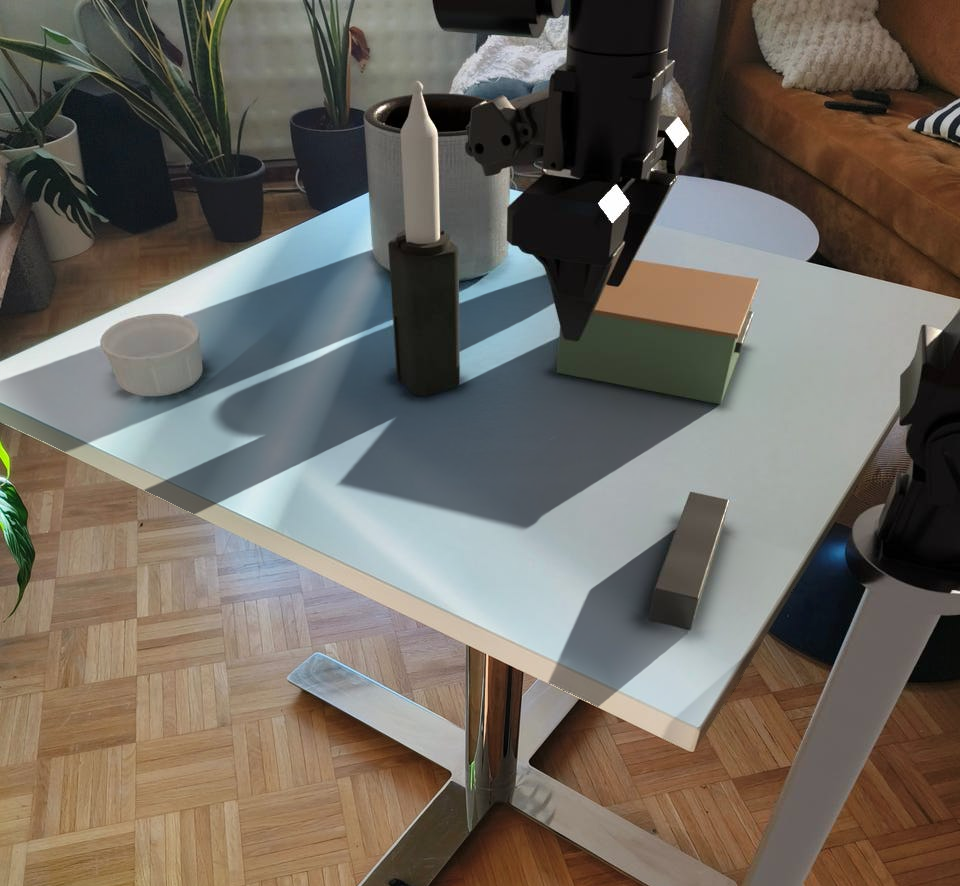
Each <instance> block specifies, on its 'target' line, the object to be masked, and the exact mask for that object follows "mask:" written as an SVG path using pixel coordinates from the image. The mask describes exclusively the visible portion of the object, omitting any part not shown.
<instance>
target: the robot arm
mask: <svg viewBox="0 0 960 886" xmlns="http://www.w3.org/2000/svg"><path fill="white" fill-rule="evenodd" d="M431 1H432V7H433V12H434V16H435V19H436V22H437V23H438V25H439V28H441V30H442V31H443V32H448V33H449V32H450V33H460V34H464V33H465V34H475V35H488V36H502V37H514V38H528V39H539V38H540V37H541V36H542V34H543V32H544V31H545V28H546V25H547V23H548V19H559V18H560V17H561V15H562V13H563V10H564V8H565V3H566V0H431ZM674 5H675V0H569V5H568V6H569V7H568V25H567V41H566V42H567V43H566V56H565V57H566V59H565V62H564V63H562V64H561V65H560V66H558V67H557V68H555V69H554V72H552V73H551V74H550V77H549V83H548V87H545V88H543V89H540V90H537V91H534V92H531V93H528V94H524V95H522V96H519V97H516V98H513V99H508V98H507V97H506V96H505V95H504V94H501V95H498V96H497V97H496V98H494V99H491V100H492V101H489V102H486V101H483V102H481V103H479V104H478V105H476V106H475V107H473V108H472V109H471V119H470V122H469V125H467V126H466V131H467V134H468V141H467V143H466V145H465V150H466V153H467V154H468V155H469V156H471V157H474V159H475V160H476V162H478V163H479V164H481V165H482V169H483V172H484V175H485V176H492V175H496V174H499V173H500V172H501V170H502V169H504V168H507V167H510V168H511V167H514V166H518V165H521V164H525V163H528V162H532V161H536V160H538V159H541V158H542V166H543V169H546V170H554V171H562V170H563V169H566V170H570V175H571V176H573V177H575V178H569V177H562V176H555V175H548V174H543V175H542V176H539V177H538V179H536V180H535V181H533V183H532V184H530V186H528V187H527V188H525V190H524V191H523V192H522V193H521V194H519V195H518V196H517V198H515V200H513V201H512V202H511V203H510V205H509V206H508V207H507V241H508V242H509V245H511V246H512V247H517V248H518V249H519V250H520V252H522V253H523V254H526V255H529V256H530V255H532V256H533V257H534V258H535V259H536V260H537V261H538V262H539V263H540V264H541V265H542V266H543V268H544V270H545V274H546V277H547V279H548V283H549V286H550V290H551V295H552V298H553V303H554V306H555V310H556V315H557V319H558V324H559V329H560V328H561V332H562V336H563V338H564V339H565V340H570V341H575V342H577V341H579V340H580V339H581V337H582V335H583V333H584V330H585V328H586V326H587V324H588V322H589V320H590V318H591V316H592V314H593V311H594V309H595V307H596V305H597V303H598V301H599V298H600V296H601V294H602V292H603V290H604V288H605V285H609V286H615V287H618V286H620V285H621V283H622V281H623V279H624V278H625V276H626V274H627V272H628V270H629V268H630V266H631V264H632V262H633V260H635V258H636V256H637V255H638V252H639V251H640V249H641V247H642V245H643V243H644V241H645V239H646V238H647V235H648V234H649V232H650V231H651V228H652V226H653V224H654V222H655V220H656V219H657V217H658V215H659V213H660V211H661V209H662V207H663V205H664V203H666V199H668V196H669V194H670V193H671V191H672V189H673V187H674V185H675V184H676V182H677V180H678V177H679V174H678V172H679V171H680V170H681V168H682V167H683V166H684V165H685V164H686V159H687V152H688V144H689V140H690V139H689V138H690V133H689V131H688V129H687V128H686V126H685V125H684V124H683V122H682V121H681V118H680V117H679V116H672V115H664V114H661V110H662V109H661V108H662V100H663V93H664V88H666V87H667V85H669V84H670V82H672V81H673V78H674V77H673V76H674V69H675V61H676V60H675V59H668V53H669V44H670V37H671V29H672V20H673V13H674ZM660 161H665V166H666V167H665V168H666V170H664V169H659V162H660ZM898 413H899V414H898V416H899V417H898V418H899V419H898V423H899V424H898V425H899V426H900V427H905V449H906V450H905V451H906V454H908V456H909V457H910V459H911V461H910V463H909V466H908V468H907V471H906V473H903V472H900V473H898V474H896V475H895V478H894V480H893V483H892V485H891V488H890V490H889V493H888V495H887V498H886V500H885V503H884V504H885V505H884V507H883V510H882V512H881V515H880V518H879V526H878V535H877V536H878V538H879V539H881V540H882V544H881V554H880V558H881V560H882V561H884V562H886V563H890V564H895V565H899V566H903V567H908V568H912V569H917V570H921V571H926V572H930V573H934V574H939V575H943V576H948V577H952V578H956V579H960V310H959V311H958V312H957V313H956V314H955V316H954V317H953V318H952V319H951V320H950V321H949V323H948V324H947V325H946V326H945V327H944V328H943V329H939V328H936V327H933V326H932V325H928V324H922V325H921V326H920V330H919V334H918V340H917V345H916V349H915V352H914V356H913V358H912V360H911V361H910V364H909V365H908V366H907V368H906V369H904V371H903V372H902V373H901V374H900V375H899V409H898Z"/></svg>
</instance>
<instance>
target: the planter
mask: <svg viewBox="0 0 960 886" xmlns="http://www.w3.org/2000/svg"><path fill="white" fill-rule="evenodd" d="M422 95H423V99H424V102H425V106H426V109H427V112H428V116H429V118H430V119H431V121H432V122H433V124H434V126H435V127H436V129H437V133H438V174H439V216H440V230H443V231H444V234H449V237H450V241H451V242H452V243H454V244H455V245H456V246H457V247H458V249H459V282H465V281H469V280H473V279H476V278H479V277H483V276H485V275H487V274H490V273H491V272H492V271H494V270H495V269H497V268H498V267H499V266H501V264H502V263H503V262H504V261H505V260H506V258H507V257H508V253H509V247H510V243H509V242H508V241H507V207H508V206H509V205H510V204H511V203H510V201H511V199H510V198H511V197H510V196H511V167H507V168H504V169H502V170H501V172H500V173H499V174H496V175H492V176H485V175H484V172H483V169H482V165H481V164H479V163H478V162H476V160H475V159H474V157H471V156H469V155H468V154H467V153H466V150H465V145H466V143H467V141H468V134H467V131H466V126H467V125H469V122H470V119H471V109H472V108H473V107H475V106H476V105H478V104H479V103H481V102H483V101H486V102H489V101H492V100H493V99H489V98H485V97H480V96H475V95H471V94H470V95H469V94H462V93H450V92H448V93H447V92H428V93H427V92H426V93H422ZM412 97H413V94H405V95H400V96H395V97H391V98H387V99H383V100H381V101H379V102H376V103H374V104H372V105H371V106H369V107H368V108H367V109H366V110H365V111H364V112H363V113H364V114H363V124H364V125H363V127H364V141H365V154H366V155H365V156H366V169H367V170H366V171H367V185H368V186H367V188H368V201H369V202H368V203H369V219H370V220H369V221H370V223H369V224H370V237H371V238H370V239H371V248H372V253H373V256H374V259H375V260H376V261H377V263H378V264H379V265H380V266H381V267H383V268H384V269H386V270H387V271H389V272H390V264H389V248H388V243H389V242H390V241H391V240H393V239H396V236H397V234H398V233H400V232H401V231H404V230H405V212H404V192H403V172H402V152H401V129H402V127H403V125H404V123H405V121H406V120H407V118H408V115H409V110H410V106H411V101H412Z"/></svg>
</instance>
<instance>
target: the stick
mask: <svg viewBox="0 0 960 886" xmlns="http://www.w3.org/2000/svg"><path fill="white" fill-rule="evenodd" d="M729 504H730V500H729V499H727V498H722V497H717V496H712V495H708V494H705V493H704V494H703V493H699V492H694V491H690V492H689V494H688V496H687V499H686V503H685V505H684V508H683V510H682V512H681V515H680V518H679V520H678V523H677V526H676V529H675V531H674V534H673V537H672V540H671V543H670V545H669V548H668V550H667V553H666V556H665V558H664V561H663V564H662V567H661V569H660V572H659V575H658V577H657V581H656V584H655V585H654V588H653V594H652V598H651V604H650V609H649V614H648V621H652V622H656V623H659V624H664V625H666V626H667V625H668V626H672V627H675V628H677V629H678V628H679V629H683V630H687V631H692V627H693V625H694V622H695V618H696V615H697V612H698V610H699V605H700V602H701V599H702V596H703V594H704V589H705V586H706V584H707V580H708V577H709V573H710V570H711V568H712V563H713V560H714V558H715V554H716V551H717V547H718V544H719V541H720V538H721V534H722V532H723V527H724V523H725V519H726V517H727V516H726V515H727V512H728V507H729Z"/></svg>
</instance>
